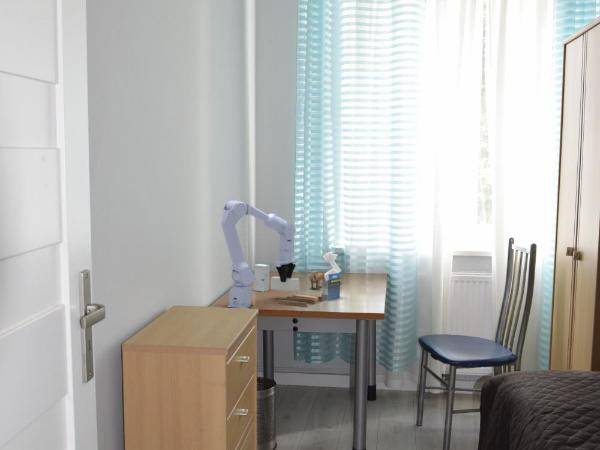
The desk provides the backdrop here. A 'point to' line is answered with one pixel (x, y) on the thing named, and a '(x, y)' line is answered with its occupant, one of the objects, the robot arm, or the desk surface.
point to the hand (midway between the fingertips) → (285, 281)
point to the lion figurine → (316, 278)
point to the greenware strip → (285, 284)
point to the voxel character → (330, 258)
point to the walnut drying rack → (300, 301)
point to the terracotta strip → (306, 297)
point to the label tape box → (331, 287)
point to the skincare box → (261, 277)
